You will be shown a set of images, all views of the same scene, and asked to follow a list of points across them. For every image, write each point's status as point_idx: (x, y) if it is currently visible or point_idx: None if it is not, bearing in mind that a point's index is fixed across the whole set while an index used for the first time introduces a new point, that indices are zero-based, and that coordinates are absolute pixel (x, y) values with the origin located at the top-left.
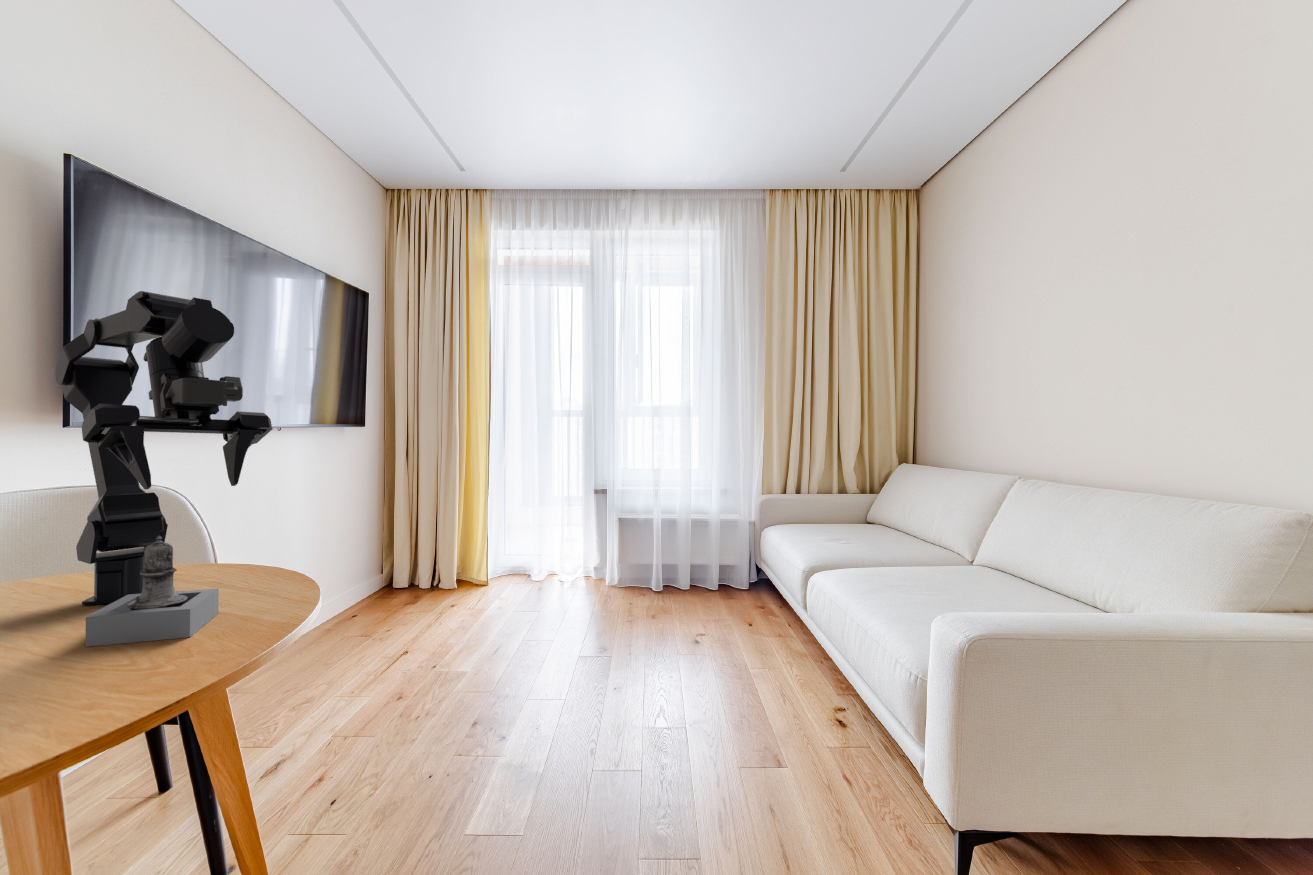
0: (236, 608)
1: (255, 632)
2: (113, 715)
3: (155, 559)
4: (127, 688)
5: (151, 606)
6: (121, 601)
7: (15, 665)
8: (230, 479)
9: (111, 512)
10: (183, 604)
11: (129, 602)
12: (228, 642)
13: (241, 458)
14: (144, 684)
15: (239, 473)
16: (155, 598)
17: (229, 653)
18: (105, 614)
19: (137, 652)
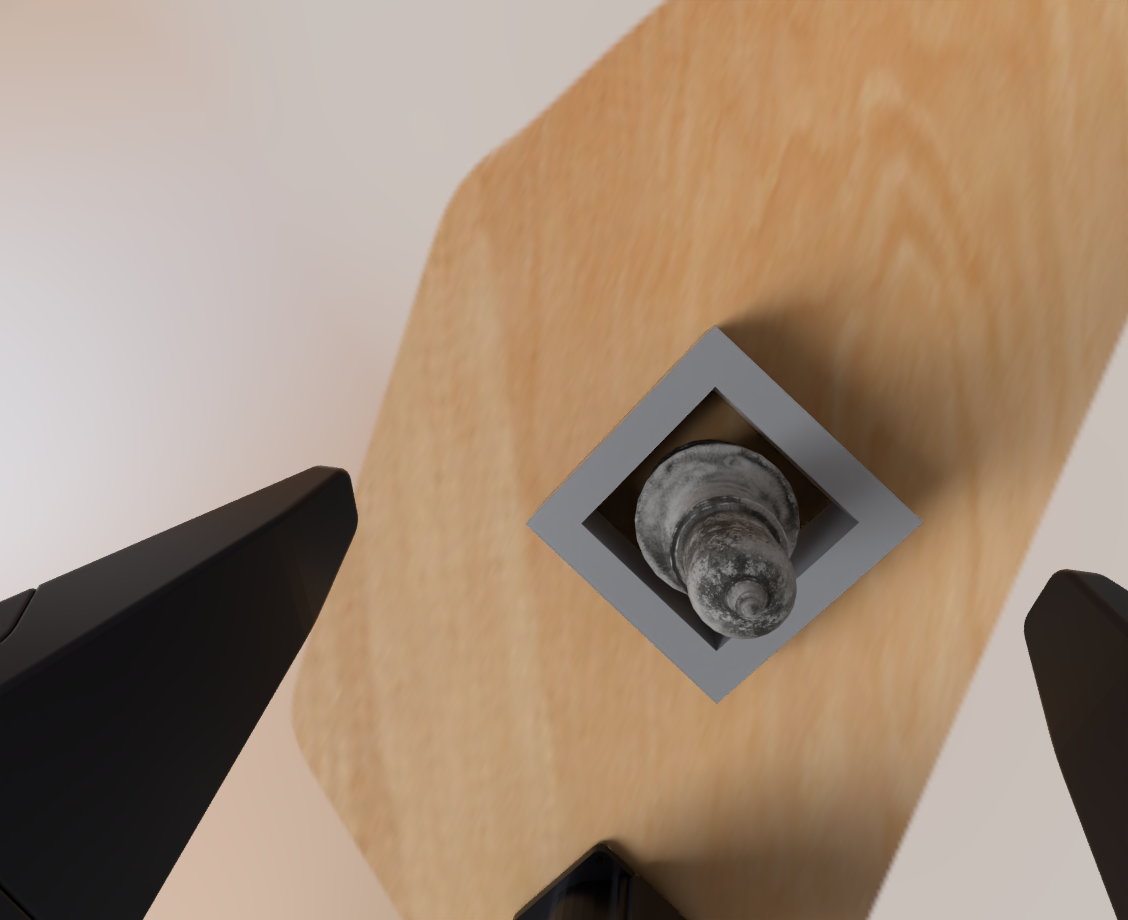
0: (484, 513)
1: (587, 206)
2: None
3: (769, 534)
4: (1014, 13)
5: (765, 463)
6: None
7: (1045, 490)
8: (327, 566)
9: None
10: (696, 405)
11: None
12: (678, 179)
13: (46, 603)
14: (978, 5)
15: (238, 505)
16: (746, 488)
17: (731, 69)
18: (879, 499)
19: (846, 318)
